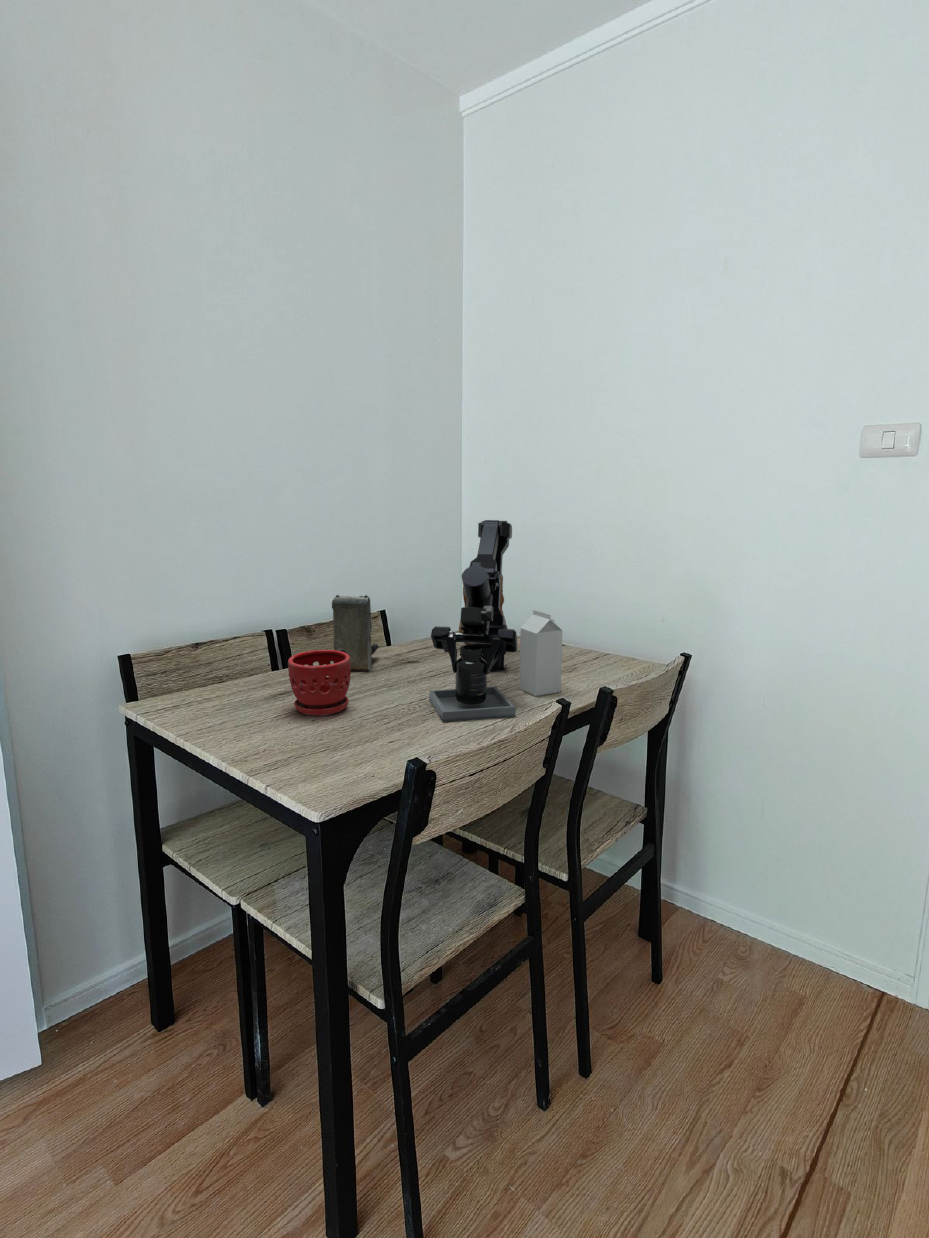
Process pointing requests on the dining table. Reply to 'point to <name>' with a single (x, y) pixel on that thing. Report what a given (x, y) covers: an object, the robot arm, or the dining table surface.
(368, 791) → the dining table surface
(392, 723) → the dining table surface
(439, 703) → the charcoal tray
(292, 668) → the plant pot
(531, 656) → the milk carton
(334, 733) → the dining table surface
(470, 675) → the supplement bottle
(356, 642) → the vintage camera
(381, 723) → the dining table surface
